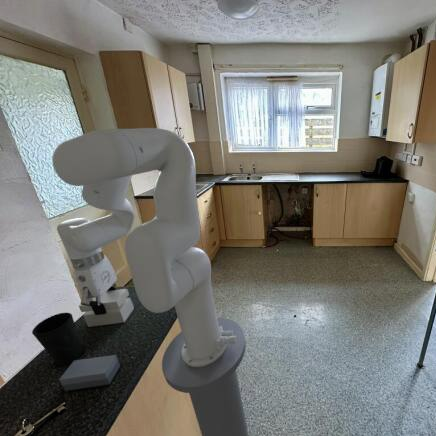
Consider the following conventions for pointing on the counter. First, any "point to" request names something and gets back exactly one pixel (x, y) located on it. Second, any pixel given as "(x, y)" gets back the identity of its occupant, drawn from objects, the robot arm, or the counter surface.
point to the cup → (59, 338)
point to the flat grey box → (109, 300)
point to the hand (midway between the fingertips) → (107, 305)
